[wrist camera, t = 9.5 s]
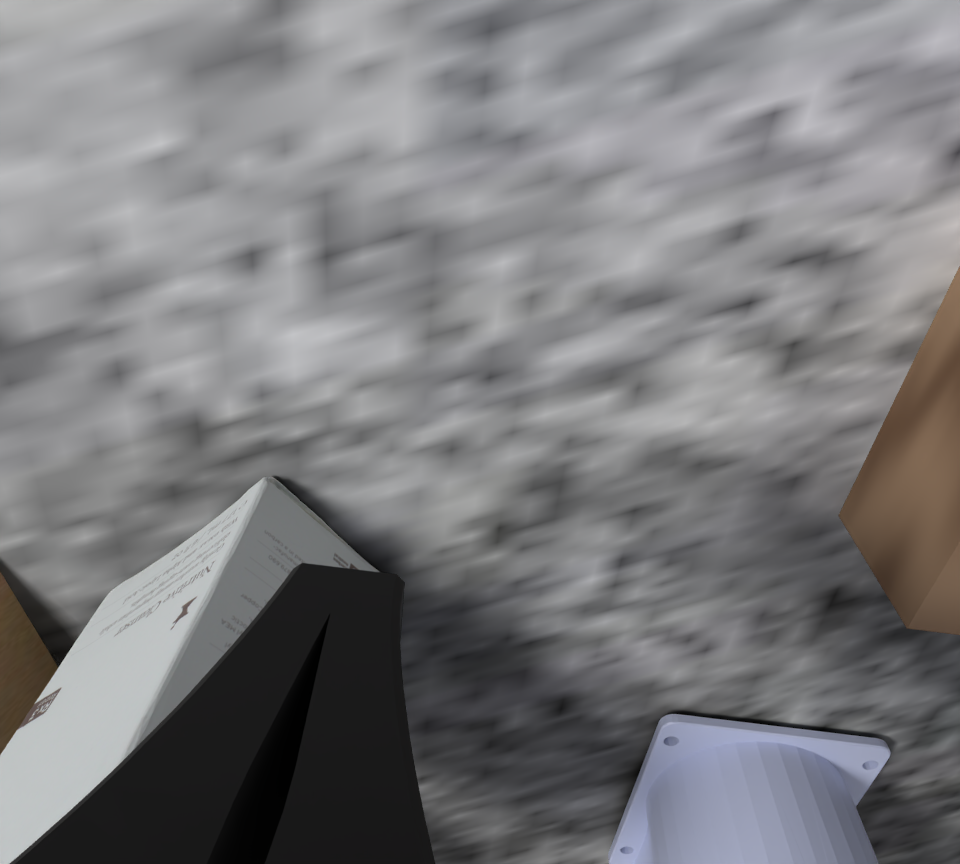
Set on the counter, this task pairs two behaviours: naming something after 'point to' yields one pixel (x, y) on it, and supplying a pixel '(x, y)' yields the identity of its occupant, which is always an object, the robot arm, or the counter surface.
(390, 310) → the counter surface
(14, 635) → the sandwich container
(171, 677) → the skincare box
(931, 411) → the walnut block
